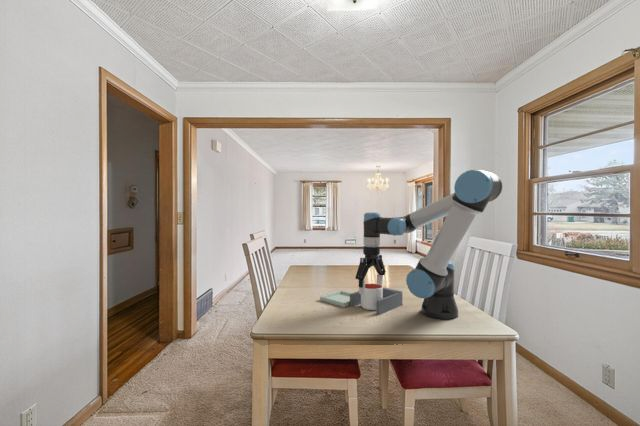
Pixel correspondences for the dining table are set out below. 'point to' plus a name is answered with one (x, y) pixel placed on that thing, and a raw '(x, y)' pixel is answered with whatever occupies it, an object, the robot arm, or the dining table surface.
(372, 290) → the cup
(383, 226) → the robot arm
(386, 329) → the dining table surface
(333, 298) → the tray
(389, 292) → the bay
